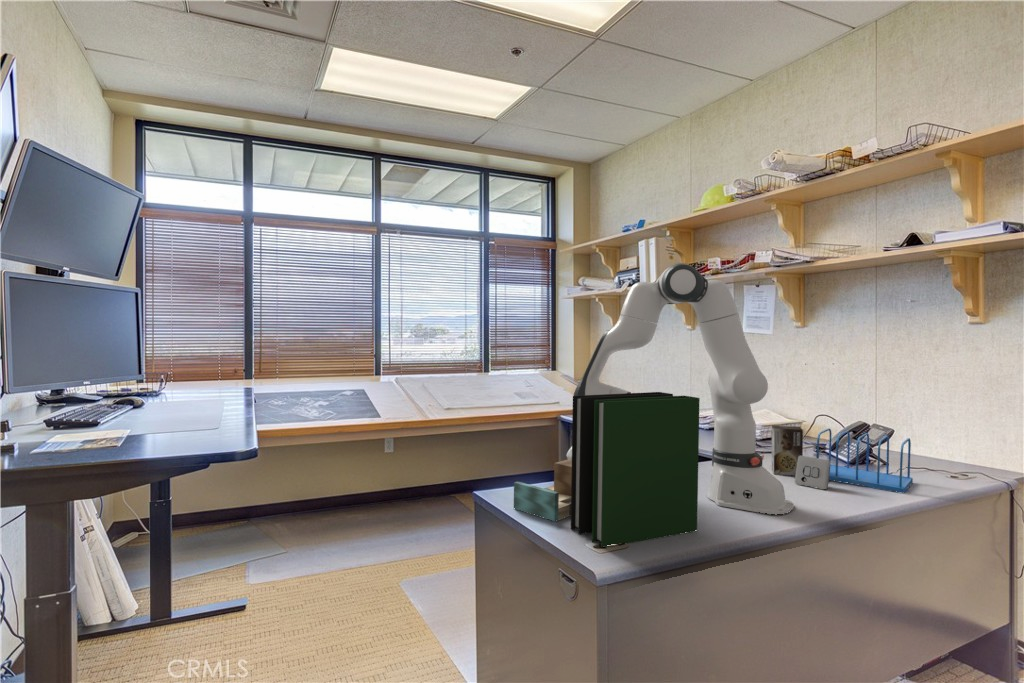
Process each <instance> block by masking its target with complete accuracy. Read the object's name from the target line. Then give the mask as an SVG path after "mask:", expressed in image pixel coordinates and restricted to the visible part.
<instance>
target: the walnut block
mask: <svg viewBox="0 0 1024 683" xmlns="http://www.w3.org/2000/svg"><path fill="white" fill-rule="evenodd" d="M553 464H554V465H553V467H554V468H553V469H554V470H553V471H554V472H553V477H554V478H553V483H554V484H553V486H554V491H555V492H559V493H561V494H564V495H568V496H571V477H572V459H564V460H561V461H557V462H554V463H553Z"/></svg>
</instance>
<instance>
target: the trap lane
mask: <svg viewBox="0 0 1024 683" xmlns="http://www.w3.org/2000/svg"><path fill="white" fill-rule="evenodd" d="M514 508H515V509H514ZM513 509H514V510H516V509H518V510H517V511H519V510H521V511H520V512H522V511H525V512H528V513H527V514H529V513H531V514H530V515H532V514H535V515H538V516H541V517H544V518H547V519H550V520H549V521H551V520H553V521H552V522H554V521H555V522H557V521H556V520H558V521H560V520H563V519H565V518H564V517H566V518H567V516H568V517H571V516H570V515H571V496H568V495H564V494H561V493H559V492H555V491H554V485H551V486H548V487H544V488H543V487H540V486H536V485H533V484H528V483H525V482H522V481H515V482H513ZM525 512H524V513H525ZM535 515H534V516H535ZM538 516H537V517H538ZM541 517H540V518H541ZM544 518H543V519H544ZM562 518H563V519H562ZM547 519H546V520H547ZM559 519H560V520H559Z"/></svg>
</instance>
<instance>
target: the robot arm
mask: <svg viewBox="0 0 1024 683" xmlns="http://www.w3.org/2000/svg"><path fill="white" fill-rule="evenodd" d="M684 303H688V304H689V305H691V306H692V308H693V310H694V311H695V314H696V315H695V316H696V318H697V323H698V326H699V330H700V332H701V337H702V342H703V345H704V347H705V350H706V352H707V354H708V355H709V358H710V359H711V361H712V363H713V365H714V367H713V368H712V369H711V370H710V372H709V373H708V376H707V384H708V387H709V392H710V399H711V406H712V407H711V408H712V412H713V422H714V424H713V425H714V432H713V434H714V436H713V438H714V439H713V441H714V442H713V447H712V450H711V451H712V453H711V463H712V464H711V466H712V475H711V480H710V484H709V489H708V492H707V494H706V496H707V498H708V499H710V500H711V501H713V502H715V504H716V505H718V506H719V507H725V508H732V509H735V510H744V511H748V512H754V513H759V512H760V514H765V513H767V514H766V515H771V514H775V515H774V516H778V515H777V514H783V515H785V514H784V513H787V512H789V511H791V510H792V509H793V508H794V509H795V504H794V502H793V501H792V500H789V499H786V492H785V489H784V486H783V483H782V482H781V481H780V480H779V479H777V477H776V476H774V474H773V473H772V472H769V471H768V470H767V469H766V468H765V467H764V466H763V461H764V460H765V455H764V454H763V455H761V454H760V453H759V452H757V451H756V449H757V448H756V445H757V444H756V442H757V440H756V439H757V438H756V437H757V424H756V420H755V418H754V416H753V410H752V408H751V405H753V404H755V403H759V402H760V401H761V400H763V399H764V398H765V396H766V394H767V392H768V390H769V389H768V388H769V386H768V385H769V384H768V380H767V377H766V376H765V375H764V373H763V372H762V371H761V369H760V367H759V365H758V363H757V360H756V358H755V356H754V354H753V352H752V351H751V350H752V349H750V346H749V343H748V342H747V339H746V336H745V333H744V329H743V326H742V325H743V324H742V322H741V318H740V315H739V311H738V307H737V304H736V301H735V299H734V297H733V294H732V292H731V290H730V289H729V287H728V284H726V283H725V282H724V281H723V280H719V279H708V280H707V279H706V277H705V276H704V275H702V273H700V272H699V271H698V270H697V268H695V267H694V266H692V265H689V264H687V263H676V264H673V265H671V266H669V267H668V268H666V269H665V270H664V271H663V272H661V274H660V275H659V276H658V277H657V278H656V280H655V281H654V282H648V281H638V282H636V283H634V284H633V285H631V287H630V288H629V290H628V293H627V294H626V296H625V299H624V303H623V305H622V308H621V311H620V314H619V318H618V320H617V322H616V323H615V325H614V326H612V328H610V329H607V330H605V332H604V333H603V334H602V335H601V337H600V339H599V341H598V343H597V345H596V347H595V349H594V351H593V353H592V355H591V358H590V360H589V362H588V364H587V365H586V366H587V367H586V369H585V370H584V373H583V375H582V377H581V378H580V381H579V382H578V383H577V385H576V387H575V390H574V391H573V392H574V393H573V396H581V395H603V394H625V393H632V392H631V391H629V390H626V389H623V388H621V387H618V386H617V387H616V386H614V385H613V386H612V385H610V384H606V383H603V382H601V381H599V379H600V377H601V374H602V373H603V370H604V368H605V366H606V363H607V362H608V360H609V357H611V355H613V354H614V353H616V352H617V353H618V352H620V351H627V350H636V349H640V348H643V347H645V346H646V345H648V344H649V343H650V342H651V341H652V340H653V338H654V336H655V333H656V330H657V326H658V323H659V320H660V319H659V318H660V314H661V312H662V310H663V308H664V307H665V306H666V305H681V304H684ZM568 459H572V446H570V447H569V449H568V451H567V452H566V460H568ZM794 509H793V510H794ZM793 510H792V511H793ZM792 511H791V512H792ZM789 513H790V512H789ZM787 514H788V513H787Z"/></svg>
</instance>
